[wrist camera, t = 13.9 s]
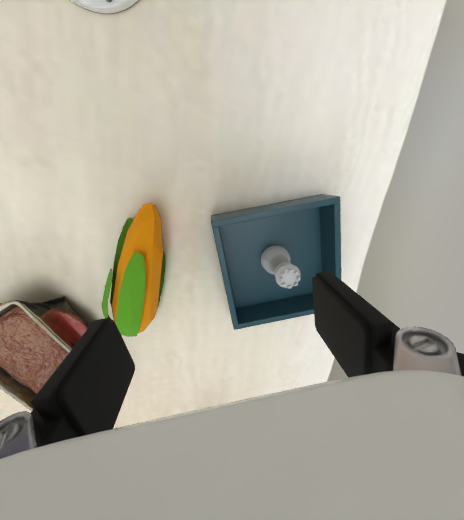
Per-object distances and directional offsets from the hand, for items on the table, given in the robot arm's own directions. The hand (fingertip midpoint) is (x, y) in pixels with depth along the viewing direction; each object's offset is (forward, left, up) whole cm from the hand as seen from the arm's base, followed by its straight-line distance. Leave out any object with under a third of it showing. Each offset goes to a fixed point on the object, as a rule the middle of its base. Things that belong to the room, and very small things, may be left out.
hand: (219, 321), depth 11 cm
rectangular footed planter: (+13, -29, -25) cm, 40 cm away
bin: (+7, +8, -25) cm, 27 cm away
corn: (+4, -12, -25) cm, 28 cm away
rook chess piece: (+7, +8, -24) cm, 27 cm away
